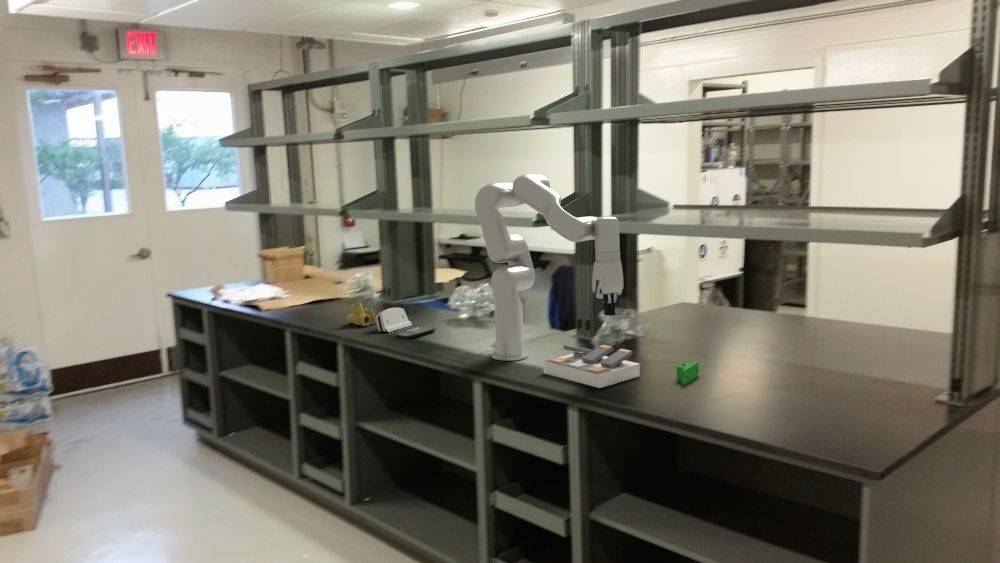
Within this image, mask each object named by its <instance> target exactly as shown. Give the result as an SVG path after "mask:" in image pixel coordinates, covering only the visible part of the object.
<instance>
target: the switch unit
mask: <svg viewBox="0 0 1000 563" xmlns="http://www.w3.org/2000/svg"><path fill="white" fill-rule="evenodd" d="M587 354H588V353H581V352H575V351H573V352H572V353H569V354H566V355H562V356H561V355H560V356H557V357H554V358H550V359H549V358H548V359H545V360H543V374H544V375H549V376H553V377H556V378H561V379H565V380H568V381H572V382H576V383H579V384H583V385H587V386H591V387H594V388H598V389H601V388H604V387H609V386H612V385H615V384H619V383H622V382H625V380H626V381H629V380H631V379H635V378H638V377H640V375H641V371H640V370H641V369H640V368H641V363H638V362H633V361H630V360H627V359H625V360H624V361H622V362H621V363H619V364H618V365H616V366H615V367H613V368H608V367H604V366H601V363H600V362H601V361H603V360H605V359H606V358H608V357H609V356H607V355H605V356H604V357H602V358H600V359H599V360H597V361H596V362H594V363H593V364H591V363H587V362H583V361H582V359H581V358H582V357H583V356H585V355H587ZM621 381H622V382H621ZM618 382H619V383H618Z"/></svg>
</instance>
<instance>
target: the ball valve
mask: <svg viewBox="0 0 1000 563" xmlns="http://www.w3.org/2000/svg"><path fill="white" fill-rule="evenodd" d="M350 307H351V311H352V313H349V314H348V315H346V322H349V323H353V324H352V325H355V324H356V325H368V326H369V325H370V324H372V322H373V323H375V324H377V322H376V316H375V313H374V309H373V308H369V309H368V308H367V307H364V308H363V304H362V302H356V303H354V304H351V305H350ZM349 323H348V324H349ZM356 325H355V326H356Z"/></svg>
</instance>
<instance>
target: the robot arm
mask: <svg viewBox="0 0 1000 563" xmlns="http://www.w3.org/2000/svg"><path fill="white" fill-rule="evenodd" d="M561 203H562V197H561V195H560V194H559V193H558V192H556V191H555V190H553V189H551V184H550V181H549V179H548V178H547V177H546V176H544V175H543V174H539V173H533V174H531V173H529V174H522V175H519V176H517V177H516V178H515V179H514V181H509V182H506V181H505V182H492V183H487V184H485V185H484V186H482V187H481V188H480V189H479V190H478V191H477V194H476V196H475V199H474V211H475V214H476V216H477V219H478V222H479V225H480V229H481V232H482V237H483V239H484V243H485V248H486V251H487V254H488V258H489V259H490V261H491V262H493V263H496V264H502V263H503V264H504V263H508V264H507V265H506V266H501V267H499V268H497V269H496V270H495V271H494V272H493V274H492V275H491V279H490V282H491V283H490V284H491V290H492V294H493V301H494V317H495V318H494V322H495V324H494V325H495V341H494V342H493V343H491V344H490V347H491V348H492V349H494V351H493V352H492V353H491V358H492V359H494V360H496V361H504V362H505V361H506V362H507V361H510V362H511V361H520V360H525V359H527V358H528V357H529V352H528V351H526V350H524V347H525V346H524V320H523V319H524V317H523V315H524V314H523V302H522V299H521V297H520V293H519V292H523V291H527V290H529V289H530V288H532V286H534V283H535V280H536V273H535V269H534V265H533V260H532V257H531V253H530V249H529V246H528V243H527V242H526V239H524V238H523V236H521V235H520V234H517V233H509V231H508V228H507V224H506V220H505V218H504V217H503V215H502V214H501V212H500V211H499V209H500V208H511V207H512V208H513V207H517V206H522V205H525V204H526V205H528V207H530V208H531V209H533V210H534V211H536V212H537V213H538V214H540V215H541V216H543V217H544V220H545V221H546V223H547V225H548V226H549V227H550V228H551V229H552V230H553V232H555V233H557V234H558V235H560V236H561V237H562V238H564V239H565V240H567V241H570V242H571V243H581V242H587V241H592V240H594V250H595V252H594V253H595V261H594V263H593V266H592V267H593V268H592V277H591V280H592V284H591V285H592V286H591V287H592V293H593V294H596V295H595V298H596V299H600V300H601V302H602V303H603V313H604V316H609V317H611V316H615V315H616V302H617V299H618V297H619V296H621V295H622V293H623V289H624V272H623V266H622V260H621V251H620V250H621V248H620V245H621V244H620V221H619V219H618V218H617V217H615V216H602V217H599V216H598V217H597V216H590V215H589V216H580V217H576V216H573V215H572V214H570V213H569V212H567V211H566V210H564V209H563V208H562V206H561Z"/></svg>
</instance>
